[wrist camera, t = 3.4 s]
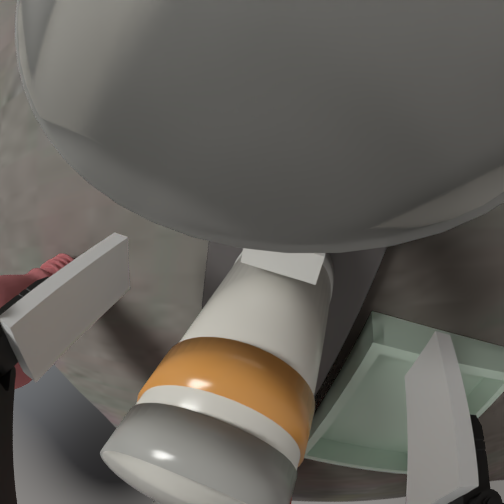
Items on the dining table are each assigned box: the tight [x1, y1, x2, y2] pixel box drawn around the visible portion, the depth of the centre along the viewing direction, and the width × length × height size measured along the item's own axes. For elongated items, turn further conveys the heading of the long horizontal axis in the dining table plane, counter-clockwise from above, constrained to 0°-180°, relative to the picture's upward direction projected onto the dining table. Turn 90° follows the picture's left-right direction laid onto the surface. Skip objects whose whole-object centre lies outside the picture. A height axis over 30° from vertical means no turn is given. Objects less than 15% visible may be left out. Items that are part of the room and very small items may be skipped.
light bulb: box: [0, 254, 74, 389], centre depth 16 cm, size 7×7×12 cm
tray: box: [304, 311, 504, 474], centre depth 17 cm, size 13×10×2 cm
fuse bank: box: [202, 241, 387, 397], centre depth 13 cm, size 27×8×6 cm, turn 170°
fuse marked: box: [100, 251, 334, 504], centre depth 10 cm, size 5×5×11 cm
